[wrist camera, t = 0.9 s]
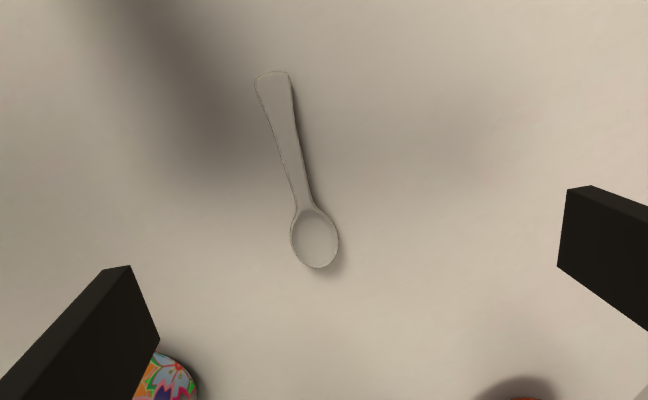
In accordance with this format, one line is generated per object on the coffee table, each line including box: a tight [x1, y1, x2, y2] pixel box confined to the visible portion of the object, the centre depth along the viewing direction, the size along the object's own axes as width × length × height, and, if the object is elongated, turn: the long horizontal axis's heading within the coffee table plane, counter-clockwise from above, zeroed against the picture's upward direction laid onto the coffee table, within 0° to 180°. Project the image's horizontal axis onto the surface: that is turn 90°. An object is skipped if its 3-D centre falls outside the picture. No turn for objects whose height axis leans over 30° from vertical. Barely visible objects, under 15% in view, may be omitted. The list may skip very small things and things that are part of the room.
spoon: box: [254, 71, 339, 268], centre depth 20 cm, size 3×12×2 cm, turn 13°
